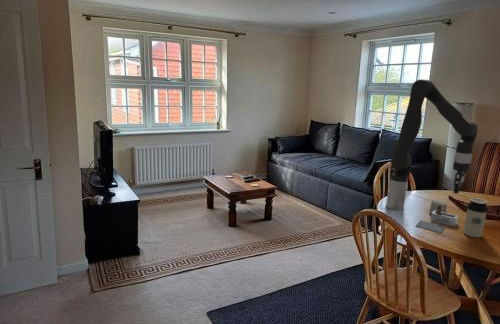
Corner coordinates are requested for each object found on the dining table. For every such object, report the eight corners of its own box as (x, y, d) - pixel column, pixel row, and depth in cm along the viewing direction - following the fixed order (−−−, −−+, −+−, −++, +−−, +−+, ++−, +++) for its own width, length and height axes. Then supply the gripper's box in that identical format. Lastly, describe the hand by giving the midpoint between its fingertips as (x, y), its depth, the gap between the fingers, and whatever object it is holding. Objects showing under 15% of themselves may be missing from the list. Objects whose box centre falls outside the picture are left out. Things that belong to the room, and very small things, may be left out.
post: (435, 220, 198) (437, 205, 196) (435, 219, 199) (438, 204, 197) (439, 221, 196) (441, 206, 194) (439, 220, 198) (442, 205, 196)
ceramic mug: (445, 217, 203) (447, 204, 201) (429, 214, 206) (431, 201, 205) (444, 212, 212) (447, 199, 210) (429, 209, 216) (431, 197, 214)
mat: (415, 226, 189) (415, 225, 189) (420, 220, 197) (420, 220, 197) (440, 232, 182) (440, 232, 182) (444, 226, 189) (445, 226, 189)
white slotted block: (430, 220, 197) (431, 213, 196) (432, 217, 202) (433, 210, 201) (454, 226, 190) (456, 218, 189) (457, 223, 195) (458, 215, 194)
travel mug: (464, 229, 187) (470, 196, 182) (482, 234, 182) (489, 200, 178) (461, 234, 181) (468, 200, 176) (480, 239, 176) (487, 204, 172)
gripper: (456, 158, 193) (452, 187, 197) (451, 162, 183) (446, 192, 186) (472, 160, 189) (467, 189, 193) (468, 164, 178) (463, 196, 182)
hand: (457, 191), depth 189 cm, fingers open, 8 cm apart
